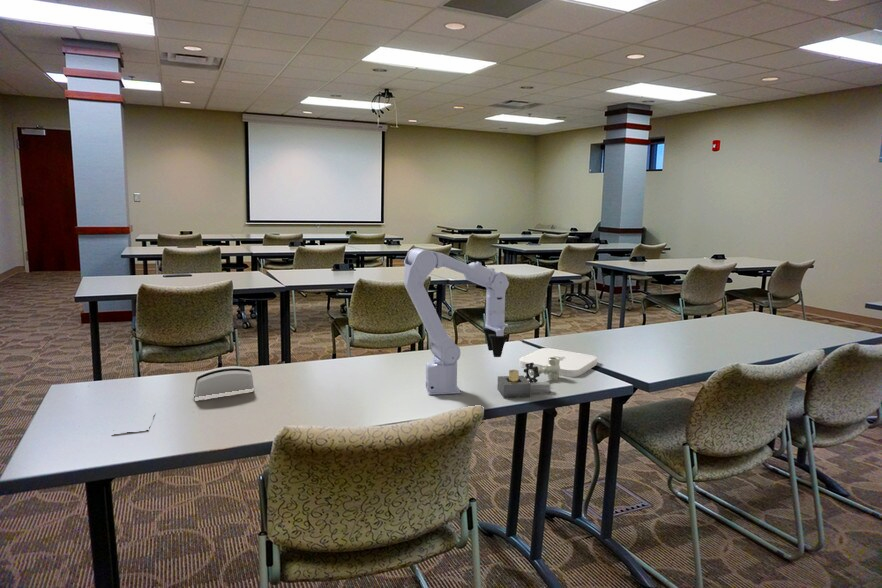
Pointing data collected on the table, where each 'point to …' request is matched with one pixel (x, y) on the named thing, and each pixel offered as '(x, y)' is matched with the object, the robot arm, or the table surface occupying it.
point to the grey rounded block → (223, 380)
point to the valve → (544, 370)
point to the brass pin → (513, 375)
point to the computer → (561, 361)
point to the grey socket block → (520, 387)
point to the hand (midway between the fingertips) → (494, 353)
